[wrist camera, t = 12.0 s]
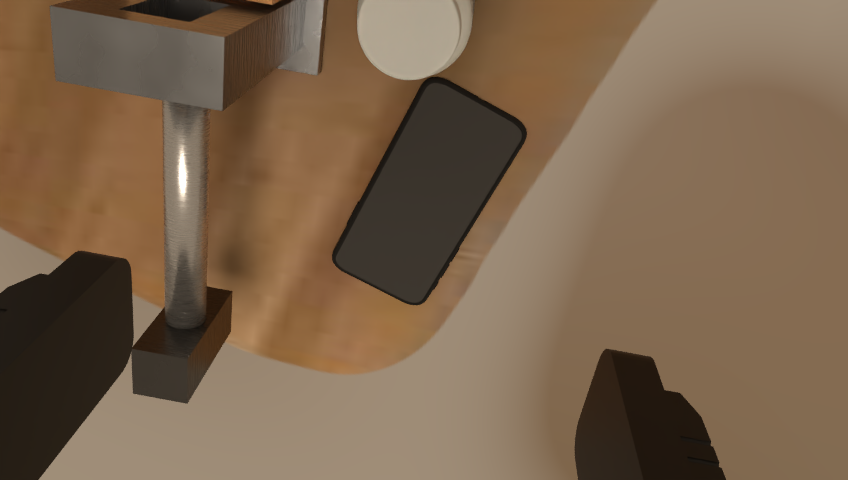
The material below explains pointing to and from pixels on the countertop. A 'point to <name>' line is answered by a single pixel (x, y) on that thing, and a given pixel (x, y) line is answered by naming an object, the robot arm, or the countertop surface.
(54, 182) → the countertop surface
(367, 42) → the pill bottle
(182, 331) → the shaft
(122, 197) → the countertop surface
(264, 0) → the spacer
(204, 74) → the bearing bracket
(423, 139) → the smartphone
